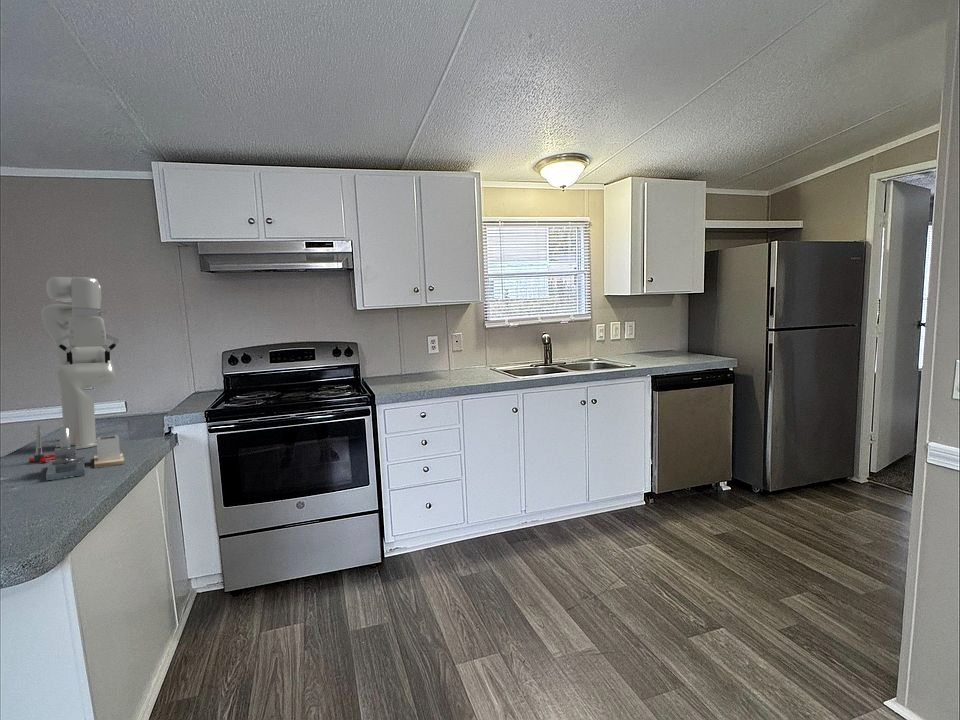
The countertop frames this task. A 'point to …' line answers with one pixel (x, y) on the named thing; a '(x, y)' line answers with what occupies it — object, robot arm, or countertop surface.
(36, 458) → the tow hook
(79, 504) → the countertop surface
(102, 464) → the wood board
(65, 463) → the grey peg stand
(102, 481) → the countertop surface
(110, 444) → the white hollow square block
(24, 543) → the countertop surface
